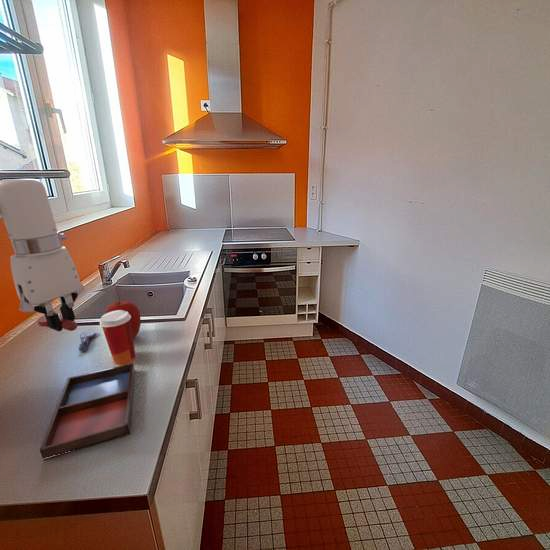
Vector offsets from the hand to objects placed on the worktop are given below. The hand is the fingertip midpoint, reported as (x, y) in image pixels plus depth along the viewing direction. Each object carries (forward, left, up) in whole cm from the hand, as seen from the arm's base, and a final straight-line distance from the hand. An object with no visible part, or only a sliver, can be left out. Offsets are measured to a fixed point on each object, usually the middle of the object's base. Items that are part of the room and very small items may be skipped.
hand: (63, 326), depth 66 cm
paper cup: (+8, +13, -20) cm, 25 cm away
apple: (+8, +25, -20) cm, 33 cm away
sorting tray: (+3, -5, -19) cm, 20 cm away
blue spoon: (-4, +27, -19) cm, 33 cm away
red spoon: (-1, +1, 0) cm, 1 cm away
